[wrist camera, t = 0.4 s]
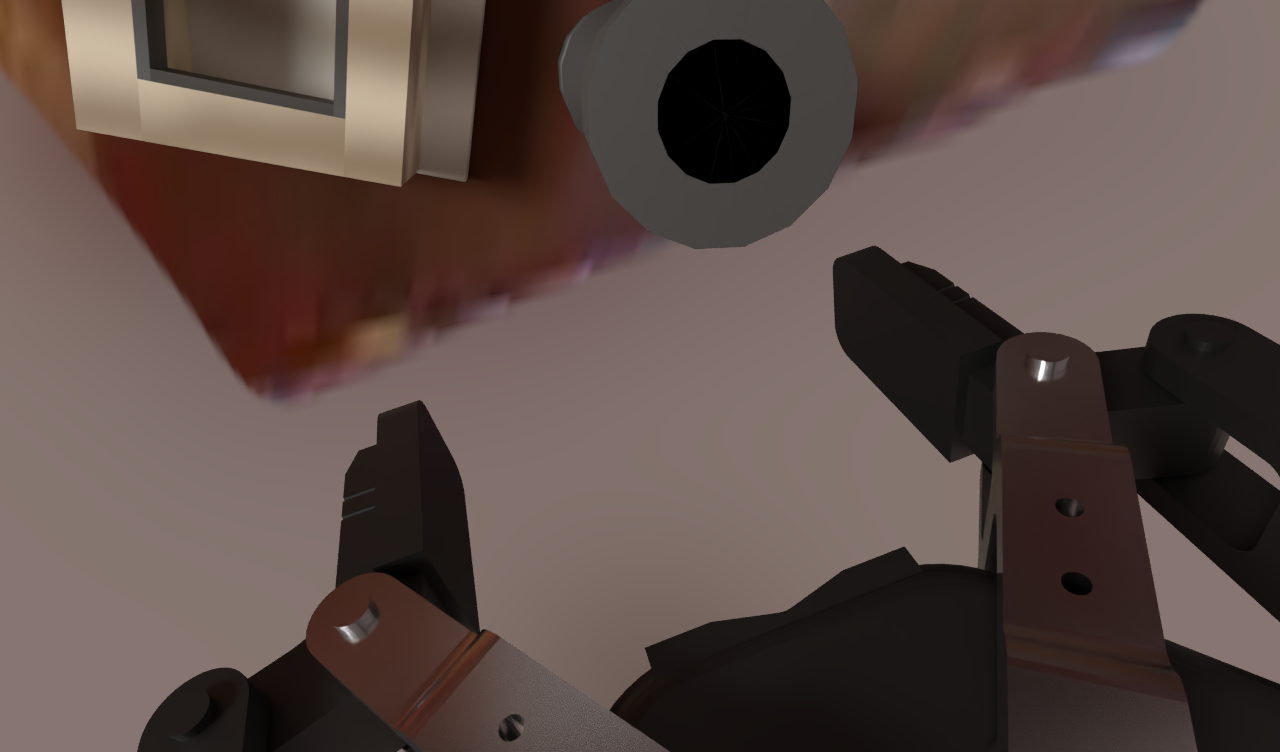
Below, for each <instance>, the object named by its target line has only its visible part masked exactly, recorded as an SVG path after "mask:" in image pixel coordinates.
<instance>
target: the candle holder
mask: <svg viewBox="0 0 1280 752" xmlns="http://www.w3.org/2000/svg"><path fill="white" fill-rule="evenodd" d="M558 76H559V88H560V91H561V93H562V95H563V98H564V101H565V103H566V105H567V107H568V110H569V112H570V114H571V116H572V119H573V121H574V123H575V125H576V128H577V129H579V130H580V131H581V132H582V133H583V134H584V135H585V136H586V139H587V141H588V143H589V146H590V148H591V150H592V153H593V155H594V157H595V159H596V161H597V164H598V166H599V168H600V170H601V173H602V175H603V177H604V179H605V182H606V184H607V186H608V188H609V191H610V193H611V195H612V197H613V198H614V199H615V200H616V201H617V202H618V203H619V204H620V205H621V206H622V207H624V208H625V209H626V210H627V211H628V212H629V213H630V214H631V215H632V216H633V217H634V218H635V219H636V220H637V221H638V222H639V223H640V224H641V225H642V226H644V227H645V228H646V229H647V230H648V231H649V232H651V233H653V234H656V235H659V236H662V237H664V238H667V239H670V240H672V241H675V242H678V243H681V244H683V245H686V246H689V247H692V248H694V249H704V248H726V247H745V246H747V245H749V244H751V243H753V242H755V241H758V240H760V239H762V238H764V237H767V236H768V235H771V234H773V233H775V232H778V231H780V230H782V229H784V228H786V227H788V226H790V225H791V224H793V223H794V221H795V220H797V218H798V217H800V216H801V214H803V213H804V212H805V211H806V209H808V208H809V207H810V205H812V204H813V203H814V202H815V201H816V200H817V199H818V198H819V197H820V196H821V195H822V194H823V193H824V192H825V191H826V190H827V189H828V187H829V185H830V183H831V181H832V179H833V177H834V175H835V173H836V171H837V169H838V167H839V165H840V162H841V160H842V158H843V156H844V154H845V152H846V150H847V148H848V146H849V144H850V142H851V140H852V134H853V125H854V116H855V107H856V98H857V89H858V79H857V75H856V71H855V67H854V64H853V60H852V56H851V52H850V48H849V44H848V40H847V36H846V33H845V29H844V26H843V25H842V24H841V22H840V21H839V20H838V18H837V17H836V16H835V14H834V13H833V12H832V11H831V9H830V8H829V7H828V5H827V4H826V3H825V1H824V0H613V1H611V2H609V3H607V4H605V5H602V6H600V7H598V8H596V9H594V10H592V11H591V12H590V13H589V14H587V15H585V16H584V17H582V18H581V19H580V20H579V22H578V23H577V24H576V25H575V26H574V28H573V29H572V30H571V31H570V32H569V34H568V35H567V36H566V37H565V40H564V43H563V46H562V49H561V52H560V56H559V59H558Z"/></svg>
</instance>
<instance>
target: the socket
mask: <svg viewBox="0 0 1280 752" xmlns="http://www.w3.org/2000/svg"><path fill="white" fill-rule="evenodd" d="M485 3H486V0H62V6H63V15H64V24H65V32H66V41H67V49H68V58H69V66H70V75H71V83H72V92H73V100H74V109H75V118H76V126H77V129H79V130H85V131H91V132H96V133H102V134H107V135H113V136H119V137H124V138H130V139H135V140H141V141H147V142H152V143H158V144H163V145H169V146H175V147H180V148H186V149H192V150H197V151H203V152H208V153H214V154H220V155H225V156H231V157H236V158H242V159H248V160H253V161H259V162H264V163H270V164H276V165H281V166H287V167H293V168H298V169H304V170H309V171H315V172H321V173H326V174H332V175H337V176H343V177H349V178H354V179H360V180H365V181H371V182H377V183H382V184H388V185H394V186H399V187H401V186H402V185H403V184H405V183H406V182H407V181H408V180H409V179H410V178H411V177H412V176H413V175H414V174H415V173H419V174H425V175H430V176H436V177H441V178H447V179H452V180H457V181H463V182H466V180H467V179H468V171H469V161H470V151H471V141H472V131H473V121H474V111H475V102H476V92H477V82H478V72H479V62H480V52H481V43H482V33H483V23H484V13H485Z"/></svg>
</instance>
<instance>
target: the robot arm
mask: <svg viewBox="0 0 1280 752" xmlns="http://www.w3.org/2000/svg"><path fill="white" fill-rule="evenodd" d="M833 285H834V286H833V288H834V313H835V329H836V333H837V337H838V340H839V342H840V345H841V347H842V349H843V350H844V352H845V353H846V355H847V356H848V357H849V358H850V359H851V360H852V361H853V362H854V363H855V364H856V365H857V366H858V367H859V368H860V370H862V372H863V373H864V374H865V375H866V376H867V377H868V378H869V379H870V380H871V381H872V382H873V383H874V384H875V385H876V386H877V387H878V388H879V389H880V390H881V391H882V392H883V394H884V395H885V396H886V397H887V398H888V399H889V400H890V401H891V402H892V403H893V404H894V405H895V406H896V407H897V408H898V409H899V410H900V411H901V412H902V413H903V414H904V416H905V417H907V419H908V420H909V421H910V422H911V423H912V424H913V425H914V426H915V427H916V428H917V429H918V430H919V431H920V432H921V433H922V434H923V435H924V436H925V437H926V438H927V439H928V441H929V442H930V443H931V444H932V445H933V446H934V447H935V448H936V449H937V450H938V451H939V452H940V453H941V454H942V455H943V456H944V457H945V458H946V459H947V460H948V461H949V462H950V463H951V462H954V461H956V460H959V459H961V458H964V457H967V456H969V455H972V454H975V455H976V456H977V457H978V458H979V459H980V460H981V461H982V463H981V470H980V494H979V498H980V499H979V545H978V546H979V547H978V567H977V568H974V567H968V566H962V565H952V564H923V565H918V563H917V562H916V561H915V560H914V559H913V557H912V556H911V554H910V553H909V552H908V550H907V549H906V548H905V547H902V548H899V549H897V550H894V551H891V552H889V553H887V554H884V555H881V556H879V557H876V558H874V559H871V560H868V561H866V562H863V563H861V564H858V565H856V566H853V567H851V568H848V569H845V570H843V571H841V572H840V573H839V574H837V575H836V576H834V577H833V578H832V579H830V580H829V581H828V582H826V583H825V584H823V585H822V586H821V587H819V588H818V589H817V590H815V591H814V592H812V593H811V594H810V595H808V596H807V597H806V598H804V599H803V600H801V601H800V602H799V603H797V604H796V605H795V606H793V607H792V608H790V609H788V610H787V611H784V612H780V613H774V614H767V615H760V616H752V617H745V618H738V619H730V620H723V621H716V622H710V623H707V624H705V625H702V626H700V627H697V628H694V629H692V630H689V631H687V632H684V633H682V634H679V635H677V636H674V637H672V638H669V639H666V640H664V641H661V642H659V643H656V644H654V645H651V646H649V647H646V648H645V650H646V653H647V656H648V659H649V662H650V665H651V669H650V670H649V671H647V672H646V673H645V674H643V675H642V676H641V677H640V678H638V679H637V680H636V681H635V682H634V683H633V684H632V685H631V686H630V687H629V688H627V689H626V691H625V692H624V693H623V694H622V695H621V696H620V697H619V698H618V700H617V701H616V702H615V703H614V705H613V706H612V707H611V709H610V710H607V709H606V708H604V707H603V706H602V705H600V704H599V703H597V702H596V701H594V700H593V699H591V698H590V697H588V696H587V695H585V694H584V693H582V692H581V691H579V690H578V689H576V688H575V687H574V686H572V685H571V684H569V683H568V682H566V681H565V680H563V679H562V678H560V677H559V676H557V675H556V674H554V673H553V672H551V671H550V670H548V669H547V668H545V667H544V666H542V665H541V664H540V663H538V662H536V661H535V660H534V659H532V658H531V657H529V656H528V655H526V654H525V653H523V652H522V651H520V650H519V649H517V648H516V647H514V646H513V645H511V644H510V643H508V642H507V641H505V640H504V639H503V638H501V637H499V636H498V635H496V634H495V633H492V632H491V631H488V630H485V629H483V630H482V631H481V632H480V628H479V619H478V610H477V601H476V592H475V584H474V574H473V565H472V556H471V547H470V538H469V530H468V521H467V513H466V503H465V494H464V488H463V484H462V480H461V476H460V473H459V470H458V468H457V465H456V463H455V461H454V459H453V457H452V455H451V453H450V451H449V449H448V447H447V445H446V444H445V442H444V440H443V438H442V436H441V434H440V432H439V430H438V429H437V427H436V425H435V423H434V421H433V419H432V417H431V416H430V414H429V412H428V410H427V408H426V406H425V405H424V404H423V402H422V401H420V400H419V401H415V402H413V403H410V404H407V405H404V406H401V407H398V408H395V409H392V410H389V411H386V412H384V413H381V414H379V415H378V421H377V445H374V446H371V447H368V448H365V449H362V450H359V451H358V453H357V455H356V456H355V458H354V460H353V462H352V464H351V465H350V467H349V469H348V471H347V473H346V474H345V484H344V496H343V497H344V500H345V501H344V502H343V507H342V517H343V520H342V521H341V530H340V542H339V553H338V565H337V576H336V588H335V589H334V590H333V591H332V592H330V593H329V594H328V595H327V596H326V597H325V598H324V599H323V600H322V602H321V603H320V604H319V605H318V607H317V608H316V609H315V611H314V613H313V614H312V616H311V619H310V621H309V623H308V626H307V630H306V639H305V640H303V641H302V642H301V643H300V644H299V645H297V646H296V647H295V648H293V649H292V650H291V651H289V652H288V653H286V654H285V655H283V656H282V657H280V658H278V659H277V660H275V661H274V662H272V663H271V664H269V665H268V666H266V667H265V668H263V669H262V670H260V671H259V672H257V673H256V674H254V675H253V676H251V677H250V678H248V679H247V678H246V677H245V676H244V675H243V674H242V673H241V672H240V671H238V670H235V669H232V668H217V669H212V670H209V671H206V672H203V673H201V674H199V675H197V676H195V677H193V678H192V679H190V680H188V681H187V682H185V683H184V684H182V685H181V686H180V687H179V688H178V689H176V690H175V691H174V692H173V693H171V694H170V695H169V696H168V697H167V698H166V699H165V700H164V702H163V703H162V704H161V705H160V706H159V707H158V708H157V710H156V711H155V712H154V714H153V715H152V717H151V718H150V720H149V721H148V723H147V725H146V727H145V729H144V731H143V733H142V736H141V739H140V743H139V746H138V750H137V752H397V751H398V750H400V749H401V748H402V749H403V750H404V751H405V752H1280V684H1278V683H1276V682H1273V681H1270V680H1268V679H1265V678H1263V677H1260V676H1258V675H1255V674H1252V673H1250V672H1248V671H1245V670H1243V669H1240V668H1237V667H1235V666H1232V665H1230V664H1227V663H1225V662H1222V661H1220V660H1217V659H1214V658H1212V657H1209V656H1207V655H1204V654H1202V653H1199V652H1197V651H1194V650H1192V649H1189V648H1187V647H1184V646H1181V645H1179V644H1176V643H1174V642H1171V641H1169V640H1166V639H1164V635H1163V629H1162V624H1161V619H1160V613H1159V608H1158V603H1157V597H1156V592H1155V586H1154V581H1153V575H1152V571H1151V565H1150V559H1149V554H1148V548H1147V543H1146V538H1145V532H1144V527H1143V521H1142V516H1141V511H1140V505H1139V501H1138V495H1137V494H1139V495H1140V496H1141V497H1142V498H1143V499H1144V500H1145V501H1146V502H1147V503H1148V504H1150V505H1151V506H1152V507H1153V508H1154V509H1155V510H1156V511H1157V512H1158V513H1160V514H1161V515H1162V516H1163V517H1164V518H1165V519H1166V520H1167V521H1168V522H1170V523H1171V524H1172V525H1173V526H1174V527H1175V528H1176V529H1177V530H1178V531H1179V532H1181V533H1182V534H1183V535H1184V536H1185V537H1186V538H1187V539H1188V540H1190V541H1191V542H1192V543H1193V544H1194V545H1195V546H1196V547H1197V548H1198V549H1200V550H1201V551H1202V552H1203V553H1204V554H1205V555H1206V556H1207V557H1208V558H1210V560H1212V561H1213V562H1214V563H1215V564H1216V565H1217V566H1218V567H1219V568H1220V569H1222V570H1223V571H1224V572H1225V573H1226V574H1227V575H1228V576H1229V577H1230V578H1232V579H1233V580H1234V581H1235V582H1236V583H1237V584H1238V585H1239V586H1240V587H1242V588H1243V589H1244V590H1245V591H1246V592H1247V593H1248V594H1249V595H1250V596H1251V597H1253V598H1254V599H1255V600H1256V601H1257V602H1258V603H1259V604H1260V605H1261V606H1262V607H1264V608H1265V609H1266V610H1267V611H1268V612H1269V613H1270V614H1271V615H1272V616H1274V617H1275V618H1276V619H1277V620H1278V621H1279V622H1280V490H1278V489H1277V488H1275V487H1274V486H1273V485H1271V484H1270V483H1269V482H1267V481H1266V480H1265V479H1263V478H1262V477H1261V476H1259V475H1258V474H1257V473H1255V472H1254V471H1253V470H1251V469H1250V468H1249V467H1247V466H1246V465H1245V464H1243V463H1242V462H1241V461H1239V460H1238V459H1237V458H1235V457H1234V456H1233V455H1231V454H1230V453H1229V452H1227V451H1226V450H1224V447H1225V445H1226V443H1227V441H1228V438H1229V436H1232V437H1233V438H1234V439H1236V440H1237V441H1239V442H1240V443H1241V444H1243V445H1244V446H1246V447H1247V448H1248V449H1250V450H1251V451H1252V452H1254V453H1255V454H1257V455H1258V456H1259V457H1261V458H1262V459H1264V460H1265V461H1266V462H1268V463H1269V464H1270V465H1271V466H1272V467H1273V468H1274V469H1275V471H1276V472H1277V473H1278V475H1279V476H1280V345H1279V344H1277V343H1275V342H1273V341H1272V340H1270V339H1268V338H1266V337H1265V336H1263V335H1261V334H1260V333H1258V332H1256V331H1254V330H1253V329H1251V328H1249V327H1247V326H1245V325H1243V324H1241V323H1239V322H1236V321H1233V320H1230V319H1227V318H1223V317H1218V316H1214V315H1205V314H1181V315H1175V316H1171V317H1167V318H1165V319H1162V320H1160V321H1159V322H1157V323H1156V324H1155V325H1154V326H1153V327H1152V329H1151V330H1150V333H1149V337H1148V340H1147V343H1146V347H1138V348H1130V349H1121V350H1112V351H1103V352H1094V351H1093V350H1092V349H1091V348H1090V347H1088V346H1087V345H1086V344H1084V343H1082V342H1080V341H1079V340H1077V339H1074V338H1071V337H1068V336H1065V335H1061V334H1056V333H1047V332H1034V333H1026V334H1024V333H1022V332H1021V331H1020V330H1018V329H1017V328H1016V327H1014V326H1013V325H1011V324H1010V323H1009V322H1007V321H1006V320H1004V319H1003V318H1001V317H1000V316H999V315H997V314H996V313H995V312H993V311H992V310H990V309H989V308H987V307H986V306H985V305H983V304H982V303H981V302H979V301H978V300H976V299H975V298H973V297H972V298H970V296H969V294H968V293H967V292H965V291H964V290H962V289H961V288H959V287H958V286H956V287H955V286H954V283H953V282H951V281H950V280H948V279H947V278H945V277H944V276H943V275H941V274H940V273H939V272H937V271H936V270H934V269H930V268H927V267H924V266H921V265H918V264H915V263H912V262H909V261H908V262H905V263H902V264H901V263H899V262H898V261H896V260H895V259H894V258H893V257H891V256H890V255H888V254H887V253H886V252H885V251H883V250H882V249H881V248H879V247H877V246H871V247H868V248H865V249H863V250H860V251H857V252H854V253H851V254H848V255H845V256H842V257H839V258H837V259H836V260H835V261H834V264H833Z"/></svg>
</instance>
